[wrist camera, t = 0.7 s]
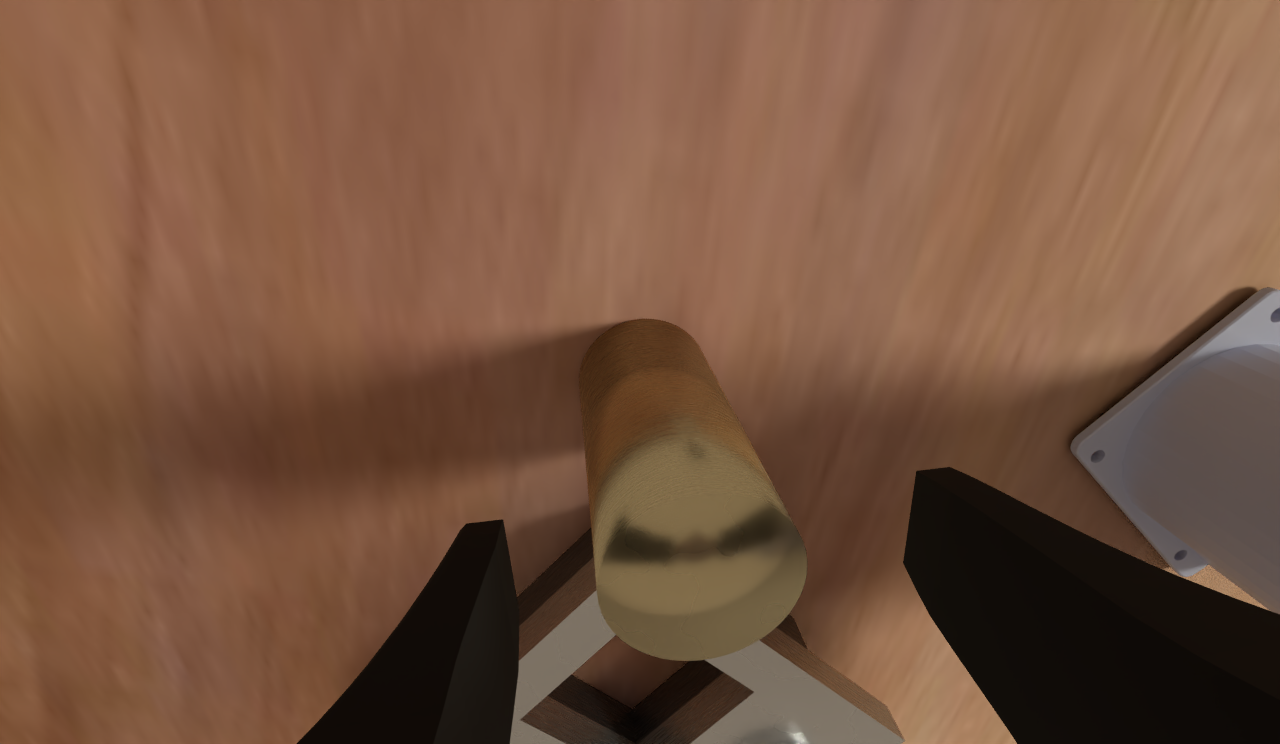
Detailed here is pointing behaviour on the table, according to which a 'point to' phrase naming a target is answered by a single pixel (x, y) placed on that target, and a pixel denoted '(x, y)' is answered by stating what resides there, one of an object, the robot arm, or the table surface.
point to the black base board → (597, 703)
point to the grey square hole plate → (717, 716)
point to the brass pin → (679, 502)
